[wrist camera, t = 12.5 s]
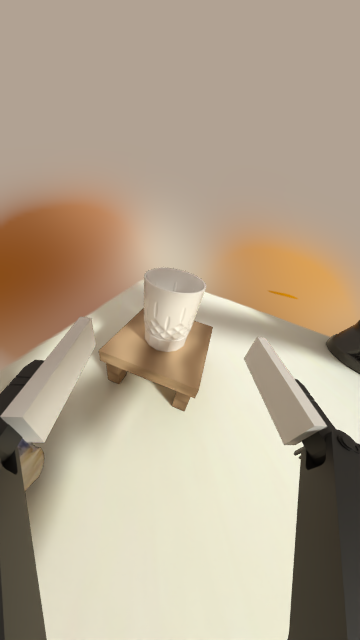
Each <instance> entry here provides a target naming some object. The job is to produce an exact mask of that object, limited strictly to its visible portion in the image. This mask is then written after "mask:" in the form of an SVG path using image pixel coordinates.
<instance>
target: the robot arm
mask: <svg viewBox="0 0 360 640" xmlns="http://www.w3.org/2000/svg"><path fill="white" fill-rule="evenodd" d="M95 346H96V342H95V336H94V330H93V325H92V319H91V318H87V317H79V319H78V320H77V321H76V322H75V324H74V325H73V326H72V327H71V329H70V330H69V331H68V332H67V334H66V335H65V336H64V337H63V339H62V340H61V341H60V342H59V343H58V345H57V346H56V347H55V348H54V350H53V351H52V352H51V353H50V355H49V356H48V357H47V358H46V360H45V361H43V360H34V361H33V362H31V363H30V364H28V365H27V366H25V367H24V368H23V369H22V370H21V371H20V372H19V374H18V375H17V376H16V378H14V379H13V380H12V381H11V382H10V384H9V386H7V387H6V388H5V389H4V390H3V391H2V393H1V394H0V640H47V639H46V632H45V625H44V618H43V612H42V605H41V598H40V591H39V585H38V578H37V571H36V564H35V557H34V551H33V544H32V537H31V530H30V523H29V517H28V510H27V503H26V496H25V489H24V483H23V476H22V469H21V462H20V455H19V449H18V447H17V446H18V444H19V442H20V441H21V439H22V438H23V439H24V440H25V441H26V442H36V443H44V442H45V440H46V439H47V437H48V435H49V433H50V431H51V429H52V427H53V425H54V423H55V422H56V420H57V418H58V416H59V414H60V412H61V410H62V408H63V406H64V405H65V403H66V401H67V399H68V397H69V395H70V393H71V391H72V389H73V388H74V386H75V384H76V382H77V380H78V378H79V376H80V374H81V372H82V371H83V369H84V367H85V365H86V363H87V361H88V359H89V357H90V355H91V354H92V352H93V350H94V348H95ZM327 347H328V349H329V350H330V351H331V352H332V353H333V354H334V355H335V356H336V357H337V358H338V359H339V360H340V361H342V362H343V363H344V364H346V365H347V366H349V367H350V368H352V369H353V370H355V371H357V372H358V373H360V320H359V321H358V322H357V323H356V324H355V325H353V326H351V327H350V328H348V329H346V330H344V331H342V332H340V333H339V334H336V335H333V336H332V337H331V338H330V339H329V340H328V341H327ZM244 360H245V362H246V364H247V366H248V369H249V371H250V373H251V375H252V377H253V379H254V381H255V384H256V386H257V388H258V390H259V392H260V394H261V396H262V399H263V401H264V403H265V405H266V407H267V409H268V411H269V414H270V416H271V418H272V420H273V422H274V424H275V426H276V429H277V431H278V433H279V435H280V437H281V439H282V441H283V444H284V445H296V444H298V443H300V442H301V441H302V443H303V444H304V447H302V448H300V449H298V450H296V451H295V452H294V455H298V454H300V453H301V456H300V457H299V459H301V465H300V479H299V494H298V509H297V524H296V538H295V553H294V568H293V583H292V597H291V612H290V627H289V636H288V640H360V444H357V443H356V442H355V441H354V440H353V439H352V438H351V437H350V436H348V435H347V434H346V433H344V432H342V431H340V430H336V429H335V427H334V426H333V425H332V423H331V422H330V421H329V419H328V418H327V417H326V415H325V414H324V412H323V411H322V410H321V408H320V407H319V406H318V404H317V403H316V402H315V401H314V399H313V397H312V396H311V395H310V393H309V392H308V390H307V389H306V388H305V386H304V385H303V384H302V383H300V382H299V381H298V380H297V379H294V378H293V376H292V375H291V373H290V372H289V371H288V369H287V368H286V366H285V365H284V363H283V362H282V361H281V359H280V358H279V356H278V355H277V353H276V352H275V351H274V349H273V348H272V346H271V345H270V343H269V342H268V341H267V339H266V338H263V337H257V338H256V340H255V341H254V343H253V345H252V346H251V348H250V349H249V351H248V353H247V354H246V356H245V357H244Z"/></svg>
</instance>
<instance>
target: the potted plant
mask: <svg viewBox="0 0 360 640" xmlns="http://www.w3.org/2000/svg"><path fill="white" fill-rule="evenodd" d="M17 447H18V449H19V455H20V462H21V469H22V476H23V483H24V489H25V491H26V489H27V488H28V487H29V486H30V485H31V484H32V483H33V482H34V481H35V480H36V479H37V478H38V477H39V476H40V473H41V470H42V467H43V462H44V452H43V451H42V449H41V447H39V448H37V447H35V446H34V445H33V444H32V443H31V442H26V441H25V440H24V439H23V438H22V439H21V441H20V442H19V444H18V446H17Z"/></svg>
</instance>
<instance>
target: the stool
mask: <svg viewBox="0 0 360 640" xmlns="http://www.w3.org/2000/svg"><path fill="white" fill-rule="evenodd" d="M212 329H213V327H211V326H208V325H205V324H202V323H199V322H196V321H194V322H193V325H192V327H191V330H190V332H189V334H188V336H187V339H186V342H185V344H184V346H183V347H181V348H180V349H178V350H177V351H171V352H164V351H159V350H156V349H154V348H153V347H151V346H149V344H148V343H147V341H146V340H145V323H144V308H143V309H142V310H141V311H140V312H139V313H138V314H137V315H136V316H135V317H134V318H133V319H132V320H130V321H129V322H128V323H127V324H126V325H125V326H124V327H123V328H122V329H121V330H120V331H119V332H118V333H117V334H116V335H115V336H114V337H113V338H111V339H110V340H109V341H108V342H107V343H106V344H105V345H104V346H103V347H102V348H101V349H100V350H99V355H100V360H101V361H103V362H106V365H107V374H108V380H111V381H113V382H115V383H118V384H120V382H121V381H122V380H123V378H124V377H125V375H126V371H128V372H131V373H133V374H135V375H138V376H140V377H143V378H145V379H148V380H150V381H153V382H155V383H158V384H160V385H163V386H165V387H168V388H170V389H173V390H175V391H177V392H176V395H175V398H174V401H173V404H172V406H173V407H175V408H177V409H180V410H182V411H185V409H186V406H187V404H188V402H189V399H190V397H193V398H195V397H196V395H197V392H198V390H199V386H200V382H201V377H202V373H203V368H204V364H205V360H206V355H207V351H208V346H209V342H210V337H211V333H212Z"/></svg>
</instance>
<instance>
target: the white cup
mask: <svg viewBox="0 0 360 640" xmlns="http://www.w3.org/2000/svg"><path fill="white" fill-rule="evenodd" d="M205 289H206V284H205V282H204V281H203V280H202V279H201V278H199V277H198V276H196V275H194V274H192V273H189V272H186V271H183V270H178V269H172V268H154V269H151V270H148V271H147V272H146V273H145V275H144V323H145V340H146V341H147V343H148V344H149V346H151V347H153V348H154V349H156V350H159V351H164V352H171V351H177V350H178V349H180V348H181V347H183V346H184V344H185V342H186V339H187V336H188V334H189V332H190V330H191V327H192V325H193V322H194V319H195V317H196V315H197V312H198V309H199V306H200V303H201V300H202V297H203V295H204V292H205Z"/></svg>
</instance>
